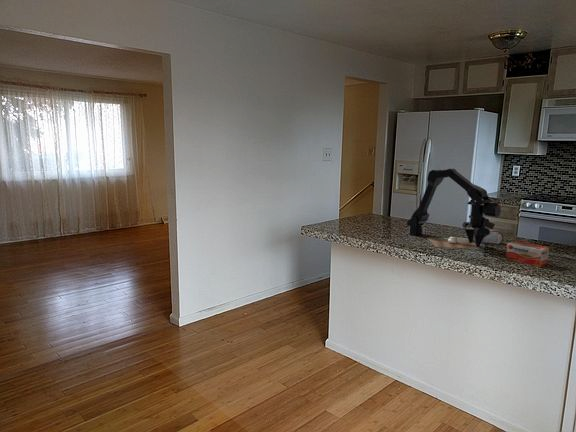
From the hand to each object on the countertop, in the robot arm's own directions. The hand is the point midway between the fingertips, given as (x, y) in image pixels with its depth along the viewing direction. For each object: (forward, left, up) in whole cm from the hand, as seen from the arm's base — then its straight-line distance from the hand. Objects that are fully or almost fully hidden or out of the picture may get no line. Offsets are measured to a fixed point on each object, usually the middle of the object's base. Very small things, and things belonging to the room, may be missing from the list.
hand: (474, 245), depth 206 cm
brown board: (-8, +9, -3) cm, 12 cm away
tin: (+11, +14, -3) cm, 18 cm away
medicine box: (+18, -16, -3) cm, 24 cm away
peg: (-4, +8, -1) cm, 9 cm away
